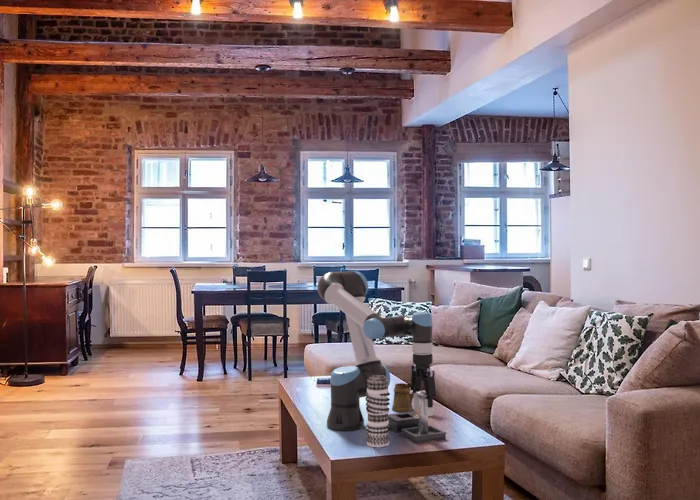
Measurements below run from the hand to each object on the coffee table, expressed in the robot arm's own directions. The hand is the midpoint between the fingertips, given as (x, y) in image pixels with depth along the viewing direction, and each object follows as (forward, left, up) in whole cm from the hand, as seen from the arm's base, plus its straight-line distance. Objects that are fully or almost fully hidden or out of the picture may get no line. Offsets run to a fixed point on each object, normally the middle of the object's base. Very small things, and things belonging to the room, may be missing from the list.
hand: (423, 412), depth 247 cm
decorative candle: (-19, 0, -10) cm, 21 cm away
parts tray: (0, 0, -9) cm, 9 cm away
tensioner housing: (0, +13, -9) cm, 16 cm away
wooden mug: (+14, +40, -10) cm, 43 cm away
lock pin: (0, 0, -9) cm, 9 cm away
